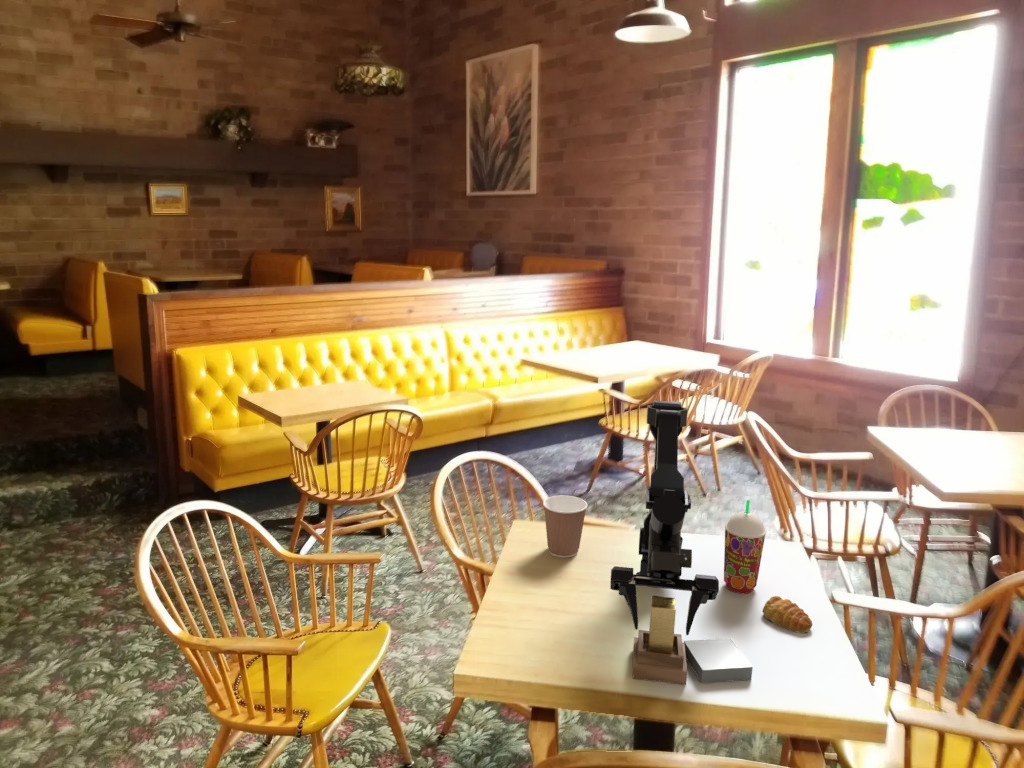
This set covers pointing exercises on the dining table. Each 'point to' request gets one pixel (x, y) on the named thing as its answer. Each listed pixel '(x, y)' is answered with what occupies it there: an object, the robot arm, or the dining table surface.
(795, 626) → the pastry
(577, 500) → the coffee cup
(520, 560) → the dining table surface
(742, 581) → the smoothie
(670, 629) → the brass bar
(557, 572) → the dining table surface
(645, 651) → the walnut holder
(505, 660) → the dining table surface
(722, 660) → the slate plinth
